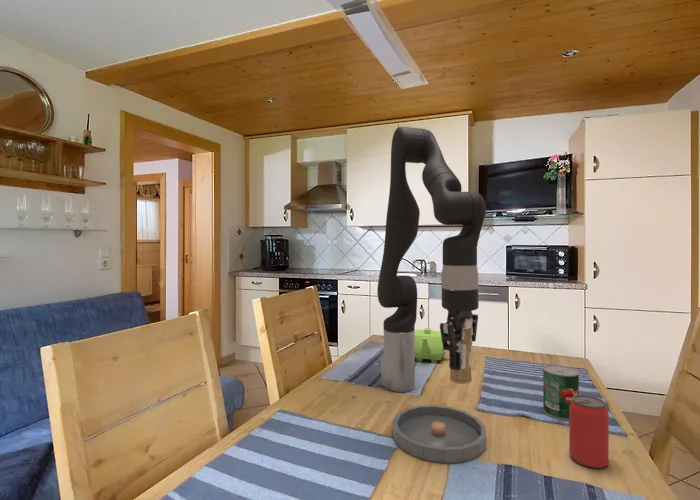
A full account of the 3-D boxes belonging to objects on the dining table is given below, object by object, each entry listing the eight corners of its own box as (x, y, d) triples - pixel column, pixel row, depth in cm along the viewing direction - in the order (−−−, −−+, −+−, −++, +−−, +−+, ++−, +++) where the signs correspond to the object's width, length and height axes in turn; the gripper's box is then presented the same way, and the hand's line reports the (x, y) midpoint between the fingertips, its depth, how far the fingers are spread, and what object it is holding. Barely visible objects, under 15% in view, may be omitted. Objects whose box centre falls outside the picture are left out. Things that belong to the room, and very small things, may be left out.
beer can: (562, 451, 79) (562, 394, 78) (592, 449, 79) (592, 392, 79) (584, 471, 72) (584, 408, 72) (616, 468, 73) (617, 406, 72)
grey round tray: (375, 440, 84) (375, 427, 84) (422, 409, 99) (422, 398, 99) (461, 476, 71) (461, 461, 71) (499, 434, 86) (499, 421, 86)
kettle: (457, 361, 137) (457, 330, 137) (426, 368, 130) (425, 336, 130) (429, 351, 150) (429, 322, 150) (400, 356, 144) (400, 327, 143)
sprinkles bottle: (476, 381, 81) (476, 318, 80) (461, 386, 78) (461, 321, 78) (459, 375, 85) (458, 315, 84) (444, 379, 82) (444, 317, 82)
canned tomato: (545, 403, 101) (545, 362, 101) (580, 411, 97) (580, 368, 97) (540, 415, 95) (540, 371, 95) (577, 423, 90) (577, 377, 90)
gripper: (458, 281, 89) (458, 354, 89) (427, 288, 78) (427, 371, 78) (490, 284, 84) (490, 361, 84) (462, 291, 73) (462, 379, 73)
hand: (460, 365), depth 81 cm, fingers closed on sprinkles bottle, 4 cm apart
